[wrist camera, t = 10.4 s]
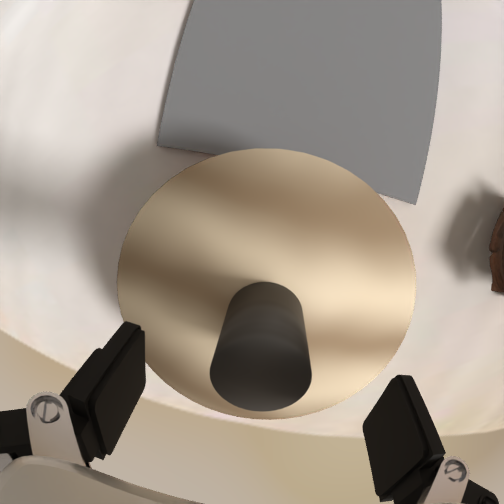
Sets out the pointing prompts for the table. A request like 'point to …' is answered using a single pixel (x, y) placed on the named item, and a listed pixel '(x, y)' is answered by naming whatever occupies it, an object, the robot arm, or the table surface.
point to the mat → (311, 84)
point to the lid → (267, 283)
